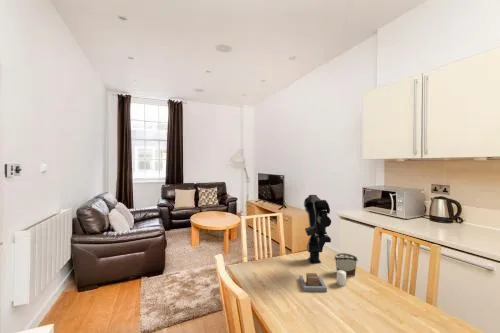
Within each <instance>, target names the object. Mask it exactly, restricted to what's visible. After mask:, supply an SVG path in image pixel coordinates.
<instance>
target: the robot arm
mask: <svg viewBox="0 0 500 333" xmlns="http://www.w3.org/2000/svg"><path fill="white" fill-rule="evenodd" d="M303 207H304V210H305V212H306V213H307V215H308V216H307V218H308V226H309V227H306V228H304V231H305V234H306V235H307V237H309V236H310V237H309V239H308V242H307V244H306V250H307V252H308V253H309V257H308V261H309V263H311V264H322V261H321V260H320V253H323V250H324V245H325V244H326V243H332V238H331V237H330V236H329V235H328V232H327V228H328V227H330V226H331V224H332V219H331V218H330V216H328V215H330V214H331V213H330V212H331V209H330V205H329V203H328V201H327V200H325V199H321V198H320V197H318V195H316V194H309V195H308V197H306V198H305V199H304V201H303Z"/></svg>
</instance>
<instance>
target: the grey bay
mask: <svg viewBox="0 0 500 333" xmlns="http://www.w3.org/2000/svg"><path fill="white" fill-rule="evenodd" d="M317 276H318V278H319V286H308V285H307V283H306V282H305V278H304V277H303V275H299V278H298V279H299V283H300V284H301V288H302V290H303V292H313V293H314V292H319V293H320V292H322V293H325V292H326V293H327V292H328V287H327V285H326V284H325V281H324V280H323V279H322V277H321V275H317Z"/></svg>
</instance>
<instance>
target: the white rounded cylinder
mask: <svg viewBox="0 0 500 333" xmlns="http://www.w3.org/2000/svg"><path fill="white" fill-rule="evenodd" d="M336 284H337V285H338V286H340V287H346V285H347V275H346V272H345V271H342V270H338V271H337V270H336Z"/></svg>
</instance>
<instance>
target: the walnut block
mask: <svg viewBox="0 0 500 333" xmlns="http://www.w3.org/2000/svg"><path fill="white" fill-rule="evenodd" d="M305 275H306V282H305V284H306V286H320V283H319V278H318V276H319V275H318V274H317V272H306V274H305Z"/></svg>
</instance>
